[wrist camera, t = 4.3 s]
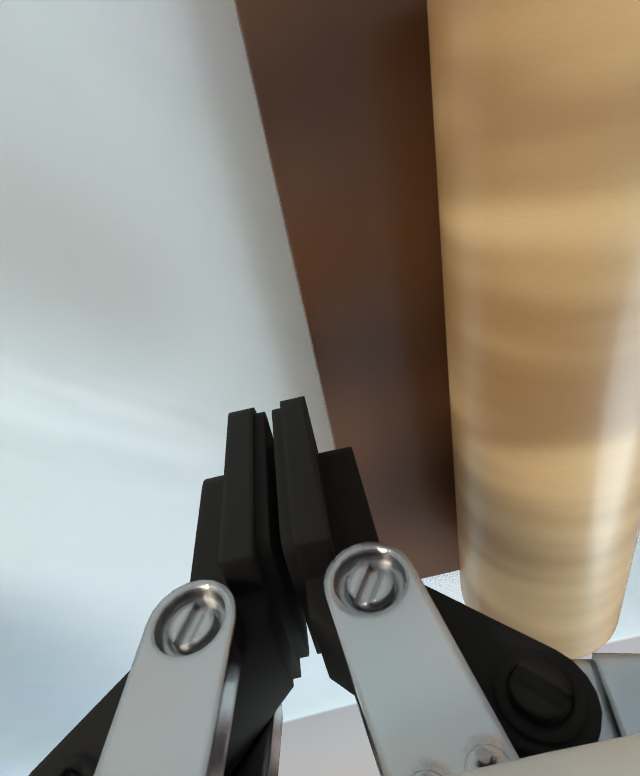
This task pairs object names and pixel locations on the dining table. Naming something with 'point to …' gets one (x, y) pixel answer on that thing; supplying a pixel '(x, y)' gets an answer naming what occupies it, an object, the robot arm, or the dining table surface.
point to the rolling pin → (542, 304)
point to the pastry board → (366, 243)
